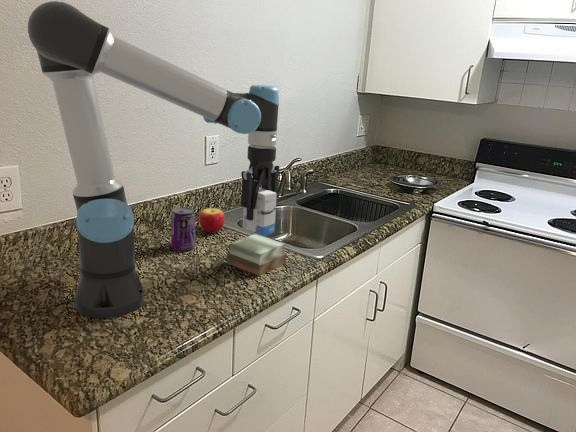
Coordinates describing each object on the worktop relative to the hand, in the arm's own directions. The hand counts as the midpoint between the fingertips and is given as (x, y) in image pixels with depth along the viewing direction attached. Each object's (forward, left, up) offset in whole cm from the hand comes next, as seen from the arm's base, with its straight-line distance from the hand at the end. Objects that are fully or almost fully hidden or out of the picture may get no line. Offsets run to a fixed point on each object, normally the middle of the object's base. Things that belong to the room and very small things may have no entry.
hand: (258, 227), depth 136 cm
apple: (+9, +27, -11) cm, 31 cm away
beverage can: (-7, +23, -11) cm, 27 cm away
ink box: (0, 0, -1) cm, 1 cm away
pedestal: (0, 0, -11) cm, 11 cm away
